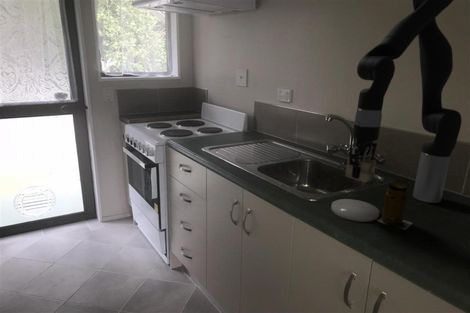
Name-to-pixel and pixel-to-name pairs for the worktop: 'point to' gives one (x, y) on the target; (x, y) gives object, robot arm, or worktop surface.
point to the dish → (355, 210)
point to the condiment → (395, 206)
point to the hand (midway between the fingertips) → (359, 175)
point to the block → (362, 170)
